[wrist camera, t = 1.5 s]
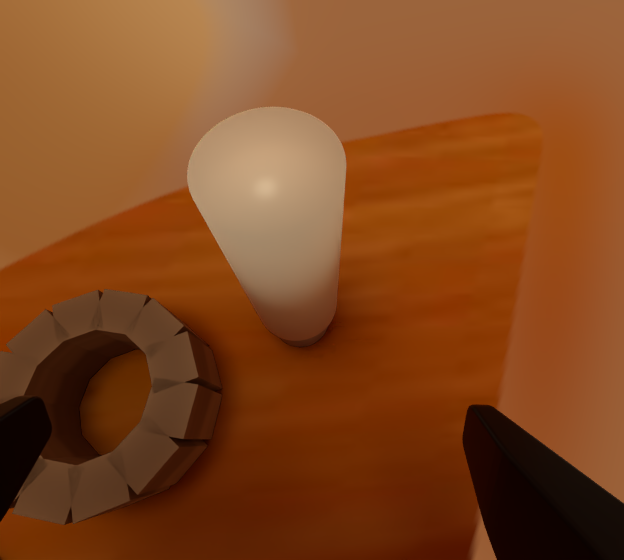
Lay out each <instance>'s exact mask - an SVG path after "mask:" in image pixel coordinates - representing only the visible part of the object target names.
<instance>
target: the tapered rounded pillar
mask: <svg viewBox="0 0 624 560" xmlns="http://www.w3.org/2000/svg"><path fill="white" fill-rule="evenodd" d="M345 177H346V156H345V153H344V149H343V146H342V144H341V142H340V140H339V139H338V137H337V135H336V134H335V133H334V132H333V131H332V129H331V128H330V127H328V126H327V125H326V124H325V123H324V122H322V121H321V120H319V119H318V118H316V117H314V116H312V115H310V114H308V113H305V112H302V111H300V110H295V109H292V108H285V107H262V108H255V109H250V110H246V111H243V112H240V113H238V114H235V115H232V116H230V117H228V118H226V119H225V120H223V121H221V122H220V123H218V124H217V125H215V126H214V127H213V128H212V129H210V130H209V131H208V132H207V133H206V134H205V135H204V136H203V137H202V139H201V140H200V141H199V142H198V144H197V146H196V147H195V149H194V151H193V153H192V155H191V158H190V161H189V164H188V172H187V180H188V186H189V191H190V193H191V196H192V198H193V200H194V202H195V203H196V205H197V207H198V209H199V211H200V212H201V214H202V216H203V218H204V220H205V221H206V223H207V225H208V227H209V229H210V230H211V232H212V234H213V236H214V237H215V239H216V241H217V243H218V245H219V246H220V248H221V250H222V252H223V254H224V255H225V257H226V259H227V261H228V262H229V264H230V266H231V268H232V270H233V271H234V273H235V275H236V277H237V279H238V280H239V282H240V284H241V286H242V287H243V289H244V291H245V293H246V295H247V296H248V298H249V300H250V302H251V304H252V305H253V307H254V309H255V311H256V313H257V314H258V316H259V318H260V320H261V321H262V323H263V325H264V326H265V327H266V328H267V329H268V330H269V331H270V332H271V333H272V334H274V335H276V336H277V337H279V338H280V339H281V340H282V341H284V342H285V343H287V344H289V345H291V346H295V347H305V346H309V345H312V344H314V343H316V342H317V341H318V340H320V339H321V338H322V337H323V335H324V334H325V332H326V330H327V327H328V325H329V324H330V323H331V321H332V319H333V317H334V315H335V312H336V307H337V294H338V279H339V265H340V250H341V236H342V221H343V206H344V192H345Z"/></svg>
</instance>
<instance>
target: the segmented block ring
mask: <svg viewBox="0 0 624 560" xmlns="http://www.w3.org/2000/svg"><path fill="white" fill-rule="evenodd" d="M52 307H53V312H50V311H48V310H44V311H43V312H42V313H41V314H40V315H39V316H38V317H36V318H35V319H34V320H33V321H32V322H31V323H30V324H29V325H27V326H26V327H25V328H24V329H23V330H22V331H21V332H20V333H18V334H17V335H16V336H15V337H14V338H13V339H12V340H11V341H9V342H8V343H7V344H6V345H7V346H8V348H9V349H10V350H11V351H12V352H13V353H9V352H3V351H1V352H0V404H1V403H3V402H6V401H8V400H10V399H12V398H14V397H17V396H22V395H28V396H39V397H41V398H42V399H43V400H44V403H45V406H46V408H47V411H48V414H49V417H50V420H51V423H52V434H51V437H50V439H49V440H48V442H47V444H46V446H45V447H44V449H43V451H42V453H41V454H40V456H39V458H38V460H37V461H36V463H35V465H34V467H33V468H32V470H31V472H30V474H29V475H28V477H27V479H26V481H25V482H24V484H23V486H22V488H21V489H20V491H19V493H18V495H17V496H16V498H15V500H14V501H13V503H12V505H11V506H10V508H14V507H15V508H14V510H13V513H12V514H17V515H21V516H26V517H31V518H35V519H40V520H44V521H49V522H54V523H58V524H63V525H65V524H68V523H71V522H73V524H74V523H77V522H80V521H83V520H86V519H89V518H92V517H95V516H98V515H101V514H104V513H107V512H110V511H113V510H116V509H119V508H122V507H125V506H128V505H130V504H133V503H135V502H138V501H140V500H143V499H145V498H147V497H150V496H152V495H155V494H157V493H160V492H162V491H165V490H167V489H170V485H174V484H176V483H177V482H178V481H179V480H180V479H181V477H182V476H183V475H184V474H185V473H186V471H187V470H188V469H189V468H190V467H191V465H192V464H193V463H194V462H195V461H196V460H197V458H198V457H199V456H200V455H201V454H202V452H203V451H204V450H205V449H206V448H207V446H208V445H207V444H206V443H205V442H204V441H203V440H202V439H212V435H213V431H214V427H215V423H216V419H217V415H218V411H219V407H220V403H221V399H222V395H221V394H219V393H217V392H215V391H217V390H220V389H222V385H221V381H220V378H219V374H218V370H217V367H216V363H215V359H214V355H213V352H212V350H211V349H210V348H208V347H209V345H208V344H207V343H206V342H205V341H203V340H202V339H201V338H200V337H199V336H198V335H197V334H196V333H194V332H193V331H192V330H191V329H190V328H189V327H188V326H187V325H185V324H184V323H183V322H182V321H181V320H180V319H178V318H177V317H176V316H175V315H173V314H172V313H171V312H170V311H168V310H167V309H166V308H165V307H164V306H162V305H161V304H160V303H159V302H157V301H156V300H155V299H154V298H152V299H151V298H150V297H149V296H147V295H142V294H135V293H128V292H121V291H114V290H107V289H105V290H104V292H103V293H102V292H100V291H99V290H96V291H93V292H90V293H87V294H84V295H81V296H78V297H76V298H73V299H70V300H67V301H64V302H61V303H58V304H55V305H52ZM135 349H140V350H142V351H143V352H144V353H145V354H146V357H147V362H148V367H149V372H150V378H151V383H152V388H151V391H150V394H149V397H148V400H147V403H146V406H145V409H144V412H143V415H142V419H141V422H140V423H139V424H138V425H137V426H136V427H135V428H134V429H133V430H132V431H131V432H130V433H129V435H128V436H127V437H126V438H125V439H124V440H123V441H122V442H121V443H120V444H119V445H118V446H117V448H116V449H115V450H114V451H113V452H110V453H107V454H105V455H102V456H101V455H99V454H98V453H97V452H96V451H95V450H94V449H93V448H92V446H91V445H90V444H89V443H88V442H87V441H86V440H85V438H84V437H83V436H82V433H81V424H80V415H79V405H80V402H81V400H82V397H83V394H84V392H85V389H86V387H87V384H88V382H89V379H90V378H91V377H92V376H93V375H94V374H95V373H96V372H97V371H98V370H99V369H100V368H101V367H102V366H103V365H104V364H105V363H106V362H107V361H108V360H109V359H110V358H113V357H116V356H118V355H121V354H124V353H127V352H129V351H132V350H135Z"/></svg>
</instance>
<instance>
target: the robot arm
mask: <svg viewBox="0 0 624 560" xmlns="http://www.w3.org/2000/svg"><path fill="white" fill-rule="evenodd" d="M51 434H52V423H51V420H50V417H49V414H48V411H47V408H46V406H45V403H44V400H43V399H42V398H41V397H39V396H28V395H22V396H17V397H14V398H12V399H10V400H8V401H6V402H3V403H1V404H0V522H1V520H2V519H3V517H4V516H5V514H6V513H7V511H8V510H9V508H10V506H11V505H12V503H13V501H14V500H15V498H16V496H17V495H18V493H19V491H20V489H21V488H22V486H23V484H24V482H25V481H26V479H27V477H28V475H29V474H30V472H31V470H32V468H33V467H34V465H35V463H36V461H37V460H38V458H39V456H40V454H41V453H42V451H43V449H44V447H45V446H46V444H47V442H48V440H49V439H50V437H51ZM463 447H464V451H465V455H466V459H467V463H468V466H469V470H470V474H471V478H472V481H473V485H474V489H475V493H476V496H477V500H478V504H479V508H480V511H481V515H482V518H483V522H484V525H485V528H486V531H487V534H488V537H489V540H490V542H491V545H492V548H493V550H494V553H495V556H496V558H497V560H624V503H622V502H621V501H620V500H618V499H617V498H616V497H614V496H613V495H611V494H610V493H609V492H607V491H606V490H605V489H603V488H602V487H601V486H599V485H598V484H597V483H595V482H594V481H593V480H591V479H590V478H589V477H587V476H586V475H584V474H583V473H582V472H580V471H579V470H578V469H576V468H575V467H574V466H572V465H571V464H570V463H568V462H567V461H565V460H564V459H563V458H562V457H560V456H559V455H558V454H556V453H555V452H553V451H552V450H551V449H549V448H548V447H546V446H545V445H544V444H543V443H541V442H540V441H539V440H537V439H536V438H534V437H533V436H532V435H530V434H529V433H528V432H526V431H525V430H524V429H522V428H521V427H520V426H518V425H517V424H516V423H514V422H513V421H511V420H510V419H509V418H507V417H506V416H505V415H503V414H502V413H501V412H499V411H498V410H497V409H495V408H494V407H492V406H490V405H471V406H469V408H468V410H467V414H466V420H465V425H464V431H463Z"/></svg>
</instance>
